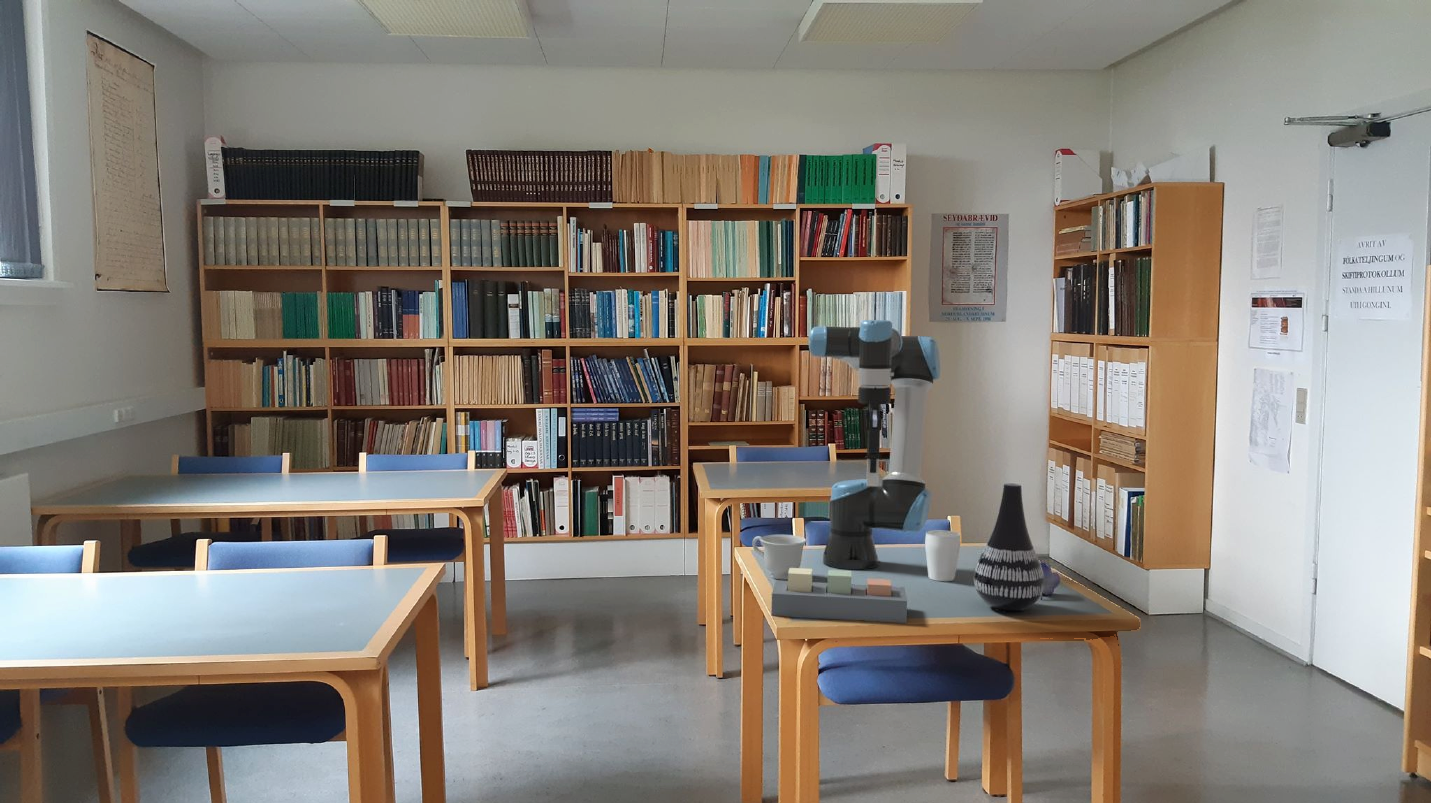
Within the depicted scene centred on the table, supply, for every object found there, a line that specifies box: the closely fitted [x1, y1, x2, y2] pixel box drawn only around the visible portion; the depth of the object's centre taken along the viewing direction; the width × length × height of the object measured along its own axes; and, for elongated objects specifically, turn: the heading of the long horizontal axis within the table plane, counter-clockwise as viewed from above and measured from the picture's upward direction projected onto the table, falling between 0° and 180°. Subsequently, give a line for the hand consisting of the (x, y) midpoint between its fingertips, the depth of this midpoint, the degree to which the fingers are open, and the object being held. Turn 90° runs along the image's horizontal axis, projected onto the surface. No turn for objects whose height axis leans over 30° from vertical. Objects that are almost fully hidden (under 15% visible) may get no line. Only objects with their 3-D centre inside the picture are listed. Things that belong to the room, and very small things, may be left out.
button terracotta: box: [866, 578, 892, 597], centre depth 224 cm, size 5×5×6 cm
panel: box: [770, 579, 908, 624], centre depth 225 cm, size 30×12×5 cm, turn 82°
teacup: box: [752, 534, 807, 581], centre depth 257 cm, size 12×15×10 cm
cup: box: [924, 529, 961, 582], centre depth 258 cm, size 9×9×12 cm
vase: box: [973, 482, 1044, 614], centre depth 229 cm, size 16×16×30 cm
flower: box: [1039, 560, 1061, 601], centre depth 243 cm, size 9×9×10 cm
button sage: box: [827, 569, 852, 594], centre depth 225 cm, size 5×5×6 cm
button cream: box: [787, 567, 813, 592], centre depth 226 cm, size 5×5×6 cm
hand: (872, 485), depth 232 cm, fingers closed
